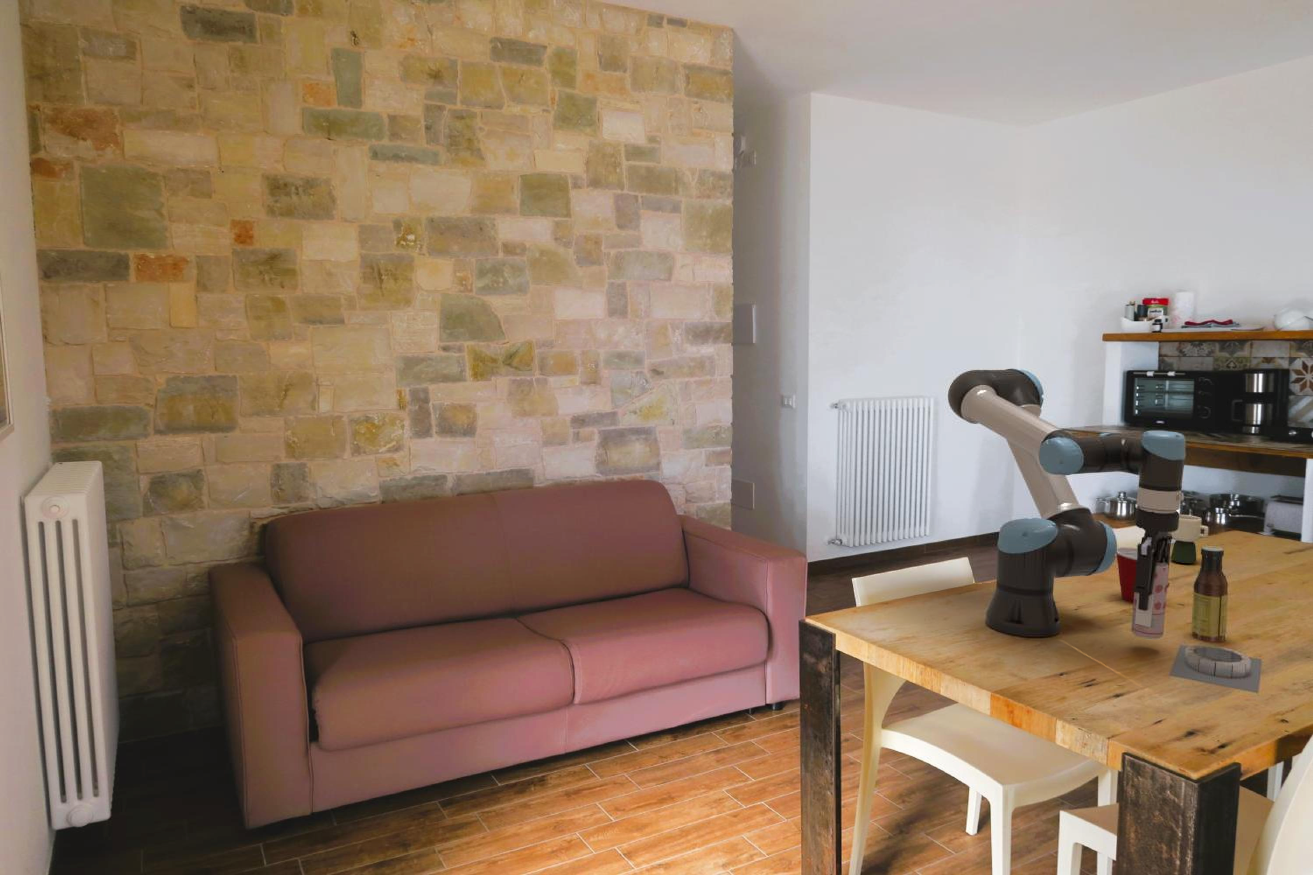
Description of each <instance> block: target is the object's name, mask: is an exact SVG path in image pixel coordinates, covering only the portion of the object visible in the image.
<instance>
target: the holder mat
mask: <svg viewBox="0 0 1313 875" xmlns="http://www.w3.org/2000/svg"><path fill="white" fill-rule="evenodd" d="M1188 647H1189V645H1186V644H1185V645H1183V644H1180V645H1179V647H1178V651H1177V653H1176V656H1175V658H1174V660H1173V664H1172V667H1171V669H1170V672H1169V676H1171V677H1176V678H1180V679H1185V680H1191V681H1196V682H1201V683H1205V684H1210V685H1211V684H1212V685H1215V686H1221V687H1224V688H1225V687H1226V688H1231V689H1237V690H1241V691H1246V692H1250V693H1251V692H1252V693H1256V694H1258V693H1259V689H1260V680H1261V670H1262V664H1263V659H1262V658H1257V657H1251V656H1248V657H1249V659H1250V660H1251V665H1250V674H1248V675H1247V676H1245V677H1237V678H1229V677H1220V676H1215V675H1214V676H1213V675H1210V674H1206V673H1202V672H1199V671H1196V670H1194V669H1192V668H1190V667H1188V666H1187V665H1186V663H1185V649H1186V648H1188ZM1214 661H1218V660H1214ZM1220 662H1222V661H1220Z"/></svg>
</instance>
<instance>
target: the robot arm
mask: <svg viewBox="0 0 1313 875" xmlns="http://www.w3.org/2000/svg"><path fill="white" fill-rule="evenodd" d="M947 392H948V393H947V401H948V405H949V407H950V409H951V410H952V412H953V413H954V414H955V415H956V416H958V418H960V419H962V420H964V421H965V422H967V423H969V424H972V425H973V424H974V425H979V424H980V425H981V426H983V427H985V428H986V429H989V430H990V431H991V432H993V433H995V434H997V435H999V436H1001V437H1002V438H1004V439H1005V440H1006V442H1007V444H1008V447H1009V449H1010V451H1011V453H1012V455H1013V457H1014V460H1015V462H1016V464H1017V466H1018V469H1019V471H1020V474H1021V476H1022V478H1023V480H1024V482H1025V484H1026V487H1027V490H1028V491H1029V493H1030V495H1031V498H1032V500H1033V502H1034V504H1035V507H1036V509H1037V512H1038V514H1039V516H1040V518H1039V517H1033V518H1028V517H1027V518H1026V517H1025V518H1024V517H1023V518H1018V519H1017V518H1016V519H1014V520H1012V519H1011V520H1010V521H1007V522H1004V524H1002V526H1001V527H1000V528H999V533H998V539H997V543H996V544H997V566H996V582H995V584H996V586H995V591H994V592H993V595H992V598H991V600H990V602H989V605H988V608H987V610H986V613H985V623H986V625H987V626H988V627H990V628H991V629H993V630H995V631H998V632H1001V633H1004V634H1008V635H1013V636H1018V637H1025V638H1046V637H1052V636H1056V635H1058V634H1059V633H1060V631H1061V619H1060V616H1059V612H1058V608H1057V605H1056V601H1055V597H1054V585H1055V579H1060V578H1069V577H1082V576H1084V577H1089V576H1093V575H1096V574H1102V573H1104V572H1105V571H1107V570H1108V569H1110V568H1111V566H1113V564H1114V563H1115V559H1116V553H1117V547H1118V541H1117V536H1116V534H1115V532H1114V530H1113V529H1112V527H1111V526H1110V525H1109V524H1108V523H1104V521H1102V520H1096V519H1095V517H1094V515H1093V514H1092V512H1091V510H1090V508H1089V507H1087V506H1084V505H1081V504H1080V503H1079V501H1078V499H1077V496H1076V495H1075V492H1074V491H1073V488H1072V485H1071V484H1070V482H1069V480H1068V477H1067V476H1070V475H1071V476H1072V475H1082V474H1097V473H1098V474H1101V473H1102V474H1103V473H1118V472H1119V473H1120V472H1121V473H1127V474H1132V475H1136V476H1138V486H1137V496H1136V505H1137V506H1138V508H1136V512H1135V522H1134V523H1135V526H1136V527H1137V528H1139V529H1142V530H1144V536H1142V537H1141V542H1138V544H1137V546H1136V548H1137V565H1136V575H1135V585H1134V589H1133V592H1136V593H1138V594H1137V606H1136V617H1135V624H1139V625H1143V626H1148V627H1150V626H1151V618H1152V607H1153V596H1154V595H1153V594H1152V589H1153V583H1154V578H1155V571H1156V566H1157V562H1159V563H1163V562H1165V563H1167V564H1168V569H1169V568H1170V559H1171V546H1172V542H1173V541H1172V540H1173V538H1172V535H1171V534H1168V533H1170V532H1174V531H1176V530H1177V529H1178V525H1179V515H1180V513H1179V510H1180V509H1181V501H1184V499H1185V497H1184V495H1182V488H1183V478H1184V470H1185V468H1184V467H1185V461H1186V458H1187V457H1186V456H1187V453H1186V437H1185V435H1183V434H1182V433H1181V432H1180V433H1179V432H1175V431H1169V430H1168V431H1167V430H1147V431H1144V432H1143V434H1142V438H1141V437H1135V436H1131V435H1126V434H1121V433H1117V432H1115V433H1111V432H1103V433H1100V434H1099V435H1096V436H1094V435H1093V436H1076V435H1075V434H1072V433H1070V432H1068V431H1067V430H1064V429H1062V428H1060V427H1059V426H1057V425H1054V424H1052V423H1051V422H1049V421H1047V420H1046V419H1043V418H1041V417H1040V416H1041V414H1042V406H1043V404H1044V400H1045V399H1044V397H1043V395H1044V389H1043V385H1042V383H1041V382H1040V380H1039V378H1038V377H1037V376H1036V375H1035V374H1034V373H1032V372H1031V371H1028V370H1024V369H1017V368H1006V369H971V370H968V371H965V372H962V373H961V374H959V375H958V376H956V377H955V378H954V379H953V381H952V382H951V384H950V386H949V388H948V391H947ZM1169 570H1170V569H1169ZM1169 585H1170V583H1169V582H1168V585H1167V589H1168V588H1169V587H1170V586H1169Z"/></svg>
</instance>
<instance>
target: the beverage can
mask: <svg viewBox="0 0 1313 875" xmlns="http://www.w3.org/2000/svg"><path fill="white" fill-rule="evenodd" d="M1169 571H1170V569H1168V564H1167V563H1165V562H1163V563H1159V562H1157V566H1156V571H1155V578H1154V583H1153V589H1152V594H1153V595H1154V596H1153V607H1152V618H1151V626H1150V627H1148V626H1143V625H1139V624H1135V617H1136V606H1137V594H1138V593H1136V592H1135V593H1134V603H1132V605H1133V606H1132V618H1131V626H1130V627H1131V628H1130V630H1131V632H1132V634H1133V635H1134V636H1137V637H1140V638H1142V639H1146V640H1147V639H1149V640H1156V639H1157V640H1158V639H1161V638H1162V637H1163V636H1164V629H1165V620H1166V619H1165V618H1166V607H1167V606H1166V605H1167V596H1168V588H1167V585H1168V583H1169Z"/></svg>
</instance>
